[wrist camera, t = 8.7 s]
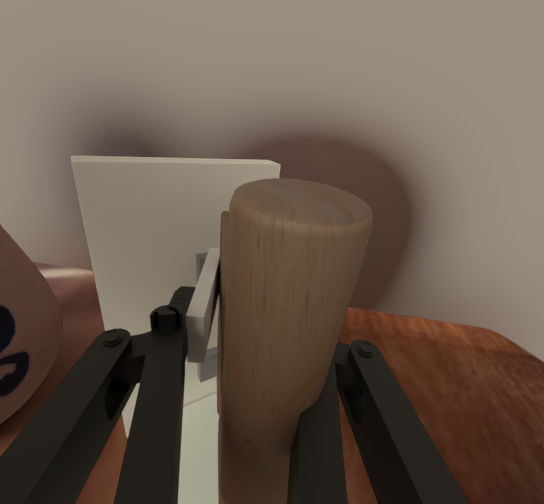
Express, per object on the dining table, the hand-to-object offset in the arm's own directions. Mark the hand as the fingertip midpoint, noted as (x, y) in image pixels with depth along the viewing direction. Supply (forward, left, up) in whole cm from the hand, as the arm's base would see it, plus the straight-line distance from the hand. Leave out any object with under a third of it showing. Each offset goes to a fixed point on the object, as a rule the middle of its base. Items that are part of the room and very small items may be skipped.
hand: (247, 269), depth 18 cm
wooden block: (+5, -2, -10) cm, 12 cm away
